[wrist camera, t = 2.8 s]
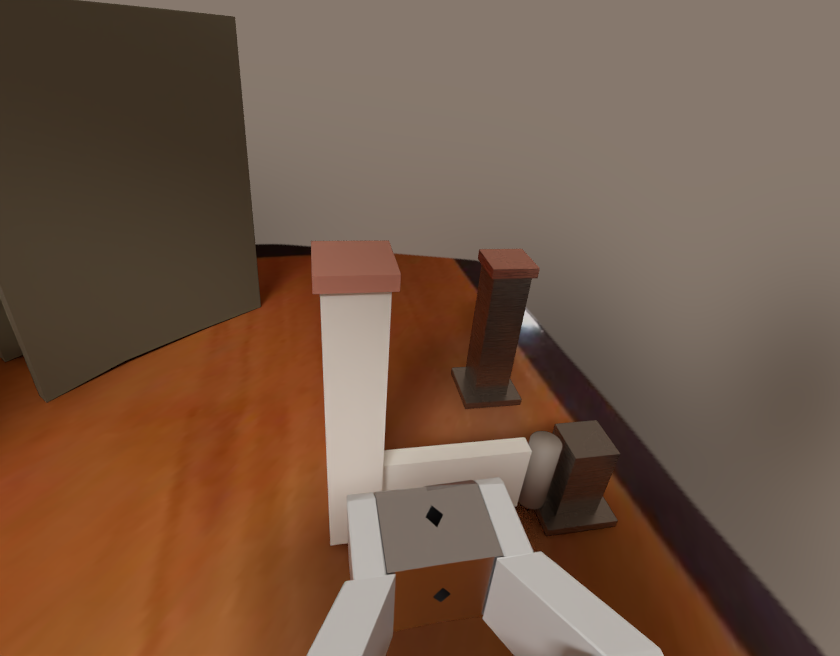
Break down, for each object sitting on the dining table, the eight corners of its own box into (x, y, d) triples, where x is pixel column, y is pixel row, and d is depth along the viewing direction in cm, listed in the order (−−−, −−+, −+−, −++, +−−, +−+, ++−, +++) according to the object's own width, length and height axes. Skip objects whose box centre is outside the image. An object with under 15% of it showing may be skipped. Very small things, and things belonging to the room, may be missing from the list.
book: (215, 282, 58) (176, 2, 44) (267, 309, 54) (242, 9, 40) (-1, 356, 43) (-171, -38, 29) (46, 402, 39) (-126, -34, 24)
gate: (325, 550, 29) (311, 276, 19) (323, 500, 32) (311, 241, 22) (553, 520, 32) (641, 269, 22) (532, 477, 35) (602, 239, 25)
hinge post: (546, 536, 32) (568, 473, 29) (518, 475, 36) (535, 414, 33) (615, 526, 33) (643, 464, 30) (580, 468, 37) (602, 409, 34)
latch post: (465, 408, 42) (487, 273, 35) (451, 372, 46) (468, 245, 39) (520, 404, 43) (552, 272, 36) (501, 369, 47) (526, 245, 40)
